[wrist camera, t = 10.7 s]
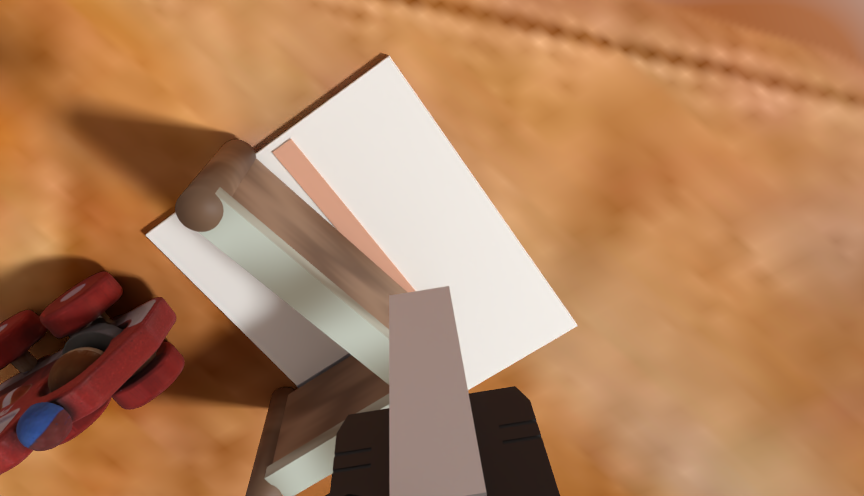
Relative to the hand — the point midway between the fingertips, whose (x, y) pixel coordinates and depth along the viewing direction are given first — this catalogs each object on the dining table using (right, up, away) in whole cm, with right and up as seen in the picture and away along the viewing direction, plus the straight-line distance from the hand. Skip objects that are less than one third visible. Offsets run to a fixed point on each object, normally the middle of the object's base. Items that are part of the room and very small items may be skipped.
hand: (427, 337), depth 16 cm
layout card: (-3, 0, +20) cm, 20 cm away
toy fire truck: (-19, -3, +21) cm, 29 cm away
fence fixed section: (-5, -4, +22) cm, 23 cm away
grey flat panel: (-6, +3, +18) cm, 19 cm away
